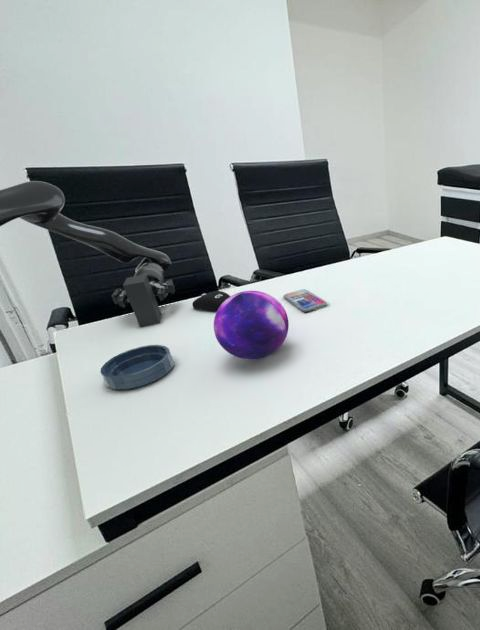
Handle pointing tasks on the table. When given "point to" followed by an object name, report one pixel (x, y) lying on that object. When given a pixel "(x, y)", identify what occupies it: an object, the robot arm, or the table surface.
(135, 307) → the dark grey upright block
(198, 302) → the computer mouse
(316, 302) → the smartphone
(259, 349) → the decorative orb
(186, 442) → the table surface
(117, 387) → the bowl
